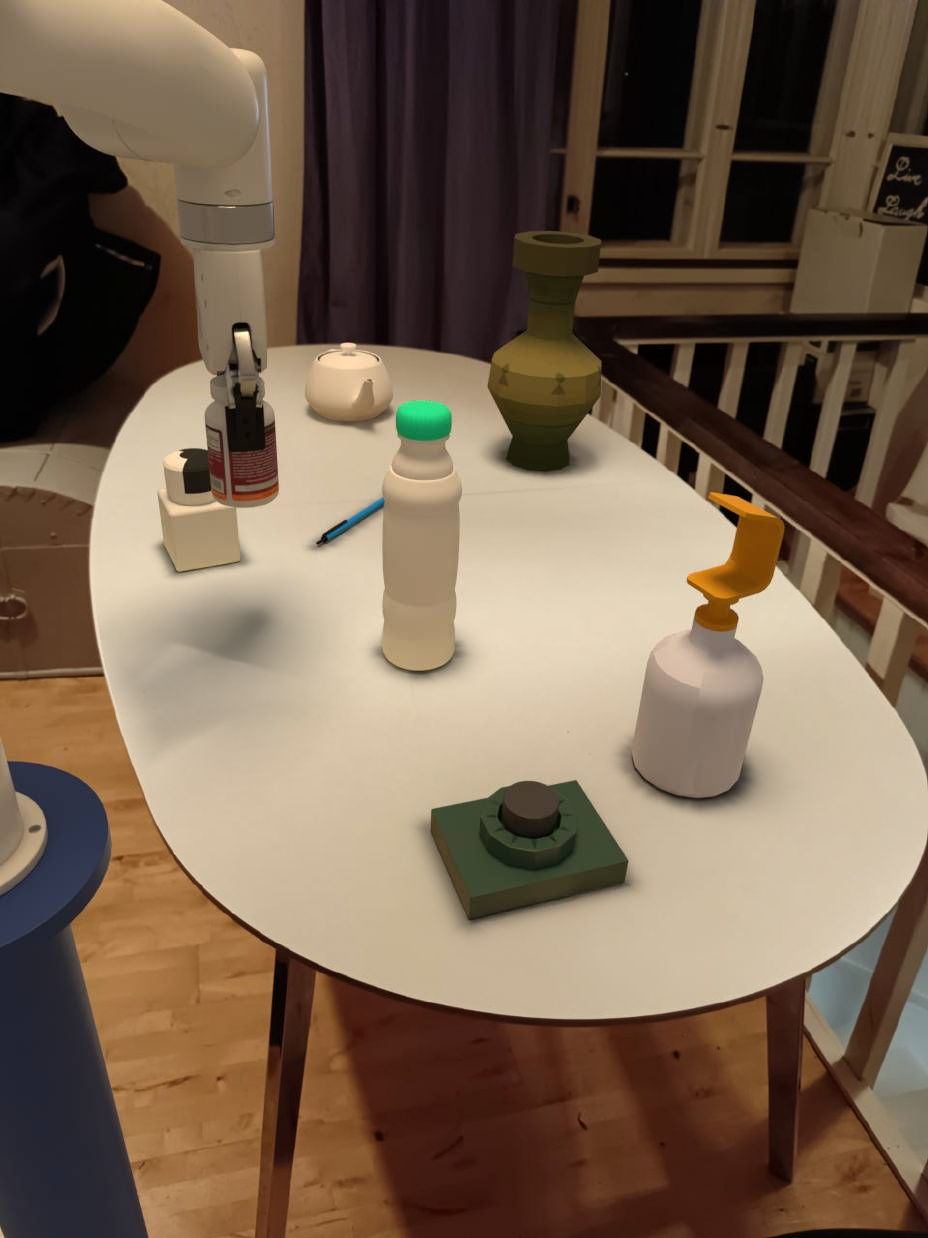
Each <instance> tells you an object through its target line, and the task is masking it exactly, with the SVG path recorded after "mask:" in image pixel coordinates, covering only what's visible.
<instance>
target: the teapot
mask: <svg viewBox="0 0 928 1238" xmlns="http://www.w3.org/2000/svg"><path fill="white" fill-rule="evenodd" d="M339 347H340V349H335V348H330V349H328V350H327V351H324V352H322V353H319V354H318V355H316V357H315V358H314V360H313V363H312V365H311V367H310V369H309V372H308V374H307V378H306V381H305V386H304V397H305V400H306V401H307V403H308V405H309V406H310V407H311V408H312V409H313V410H314V411H316V412H317V413H318V414H319V415H320V416H322V417H324V418H326V419H328V420H333V421H340V422H361V421H368V420H371V419H375V418H376V417H379V415H381V413H382V412H384V411H385V410H386V409H387V408H388V407H389V406H390V404H391V403H392V401H393V397H394V391H393V390H394V389H393V384H392V381H391V378H390V375H389V372H388V370H387V368H386V366H385V364H384V361H383V360H382V358H381V357H380V356H379V355H377V354H376V353H374V352H371V351H366V350H360V349H356V348H357V344H356V343H354V342H343V343H341V344H340V345H339Z"/></svg>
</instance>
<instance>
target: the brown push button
mask: <svg viewBox="0 0 928 1238" xmlns="http://www.w3.org/2000/svg"><path fill="white" fill-rule="evenodd" d="M508 786H509V787H508V788H507V790H506V791H505V793H504V796H503V806H502V823H503V825H504V827H505V828H506V829H507V830H508V831H509V832H510V833H512V834H513V835H515V836H517V837H523V838H529V839H538V838H542V837H546V836H548V835H549V834H551V833H552V832H553V830H554V829H555V827H556V824H557V816H558V809H559V798H558V796H557V794H556V792H555V791H554V790H553V789H552V788H550V787H549V785H548V784H545V783H543V782H540V781H536V780H521V781H517V782H515V783H514V782H513V784H511V785H508Z"/></svg>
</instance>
